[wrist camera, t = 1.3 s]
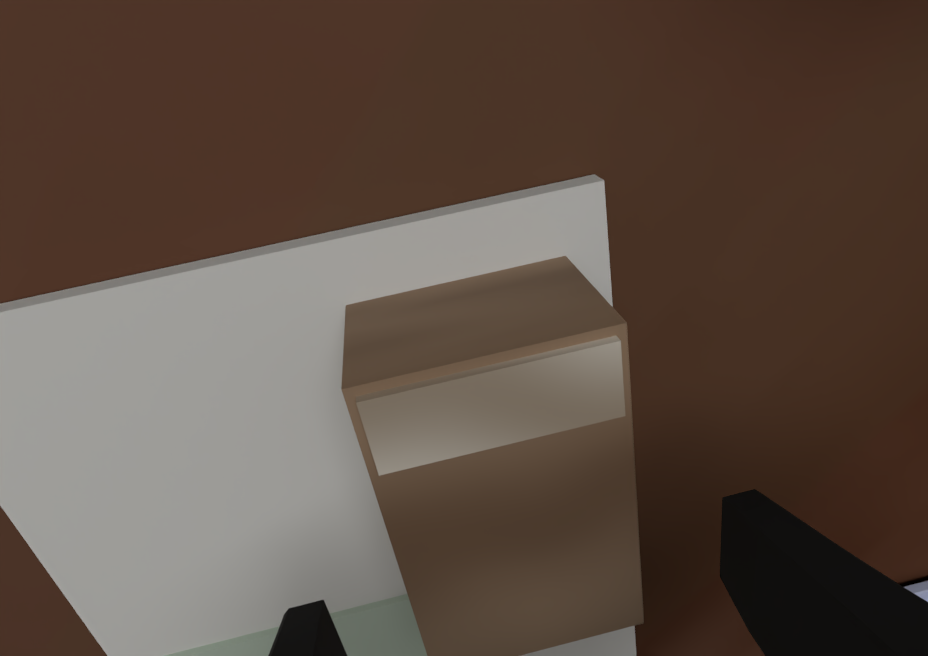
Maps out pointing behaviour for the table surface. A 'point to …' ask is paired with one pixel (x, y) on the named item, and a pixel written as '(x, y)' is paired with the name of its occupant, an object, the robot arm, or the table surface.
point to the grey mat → (241, 429)
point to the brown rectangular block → (501, 456)
